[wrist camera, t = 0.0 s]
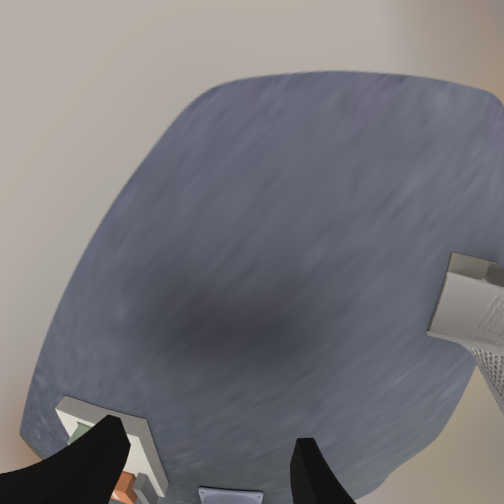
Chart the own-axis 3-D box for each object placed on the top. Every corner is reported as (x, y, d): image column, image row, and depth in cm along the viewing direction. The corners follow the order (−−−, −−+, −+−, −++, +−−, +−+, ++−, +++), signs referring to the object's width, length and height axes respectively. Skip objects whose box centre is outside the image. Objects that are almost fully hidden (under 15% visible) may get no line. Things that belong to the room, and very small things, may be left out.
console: (169, 483, 24) (161, 512, 20) (101, 464, 25) (89, 488, 20) (146, 419, 21) (129, 456, 16) (65, 395, 21) (43, 422, 17)
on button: (123, 455, 20) (113, 477, 17) (92, 444, 20) (81, 464, 17) (113, 433, 19) (101, 456, 16) (80, 422, 19) (66, 442, 16)
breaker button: (141, 486, 22) (134, 505, 19) (112, 478, 22) (105, 496, 19) (133, 472, 21) (124, 493, 18) (103, 463, 21) (93, 482, 18)
